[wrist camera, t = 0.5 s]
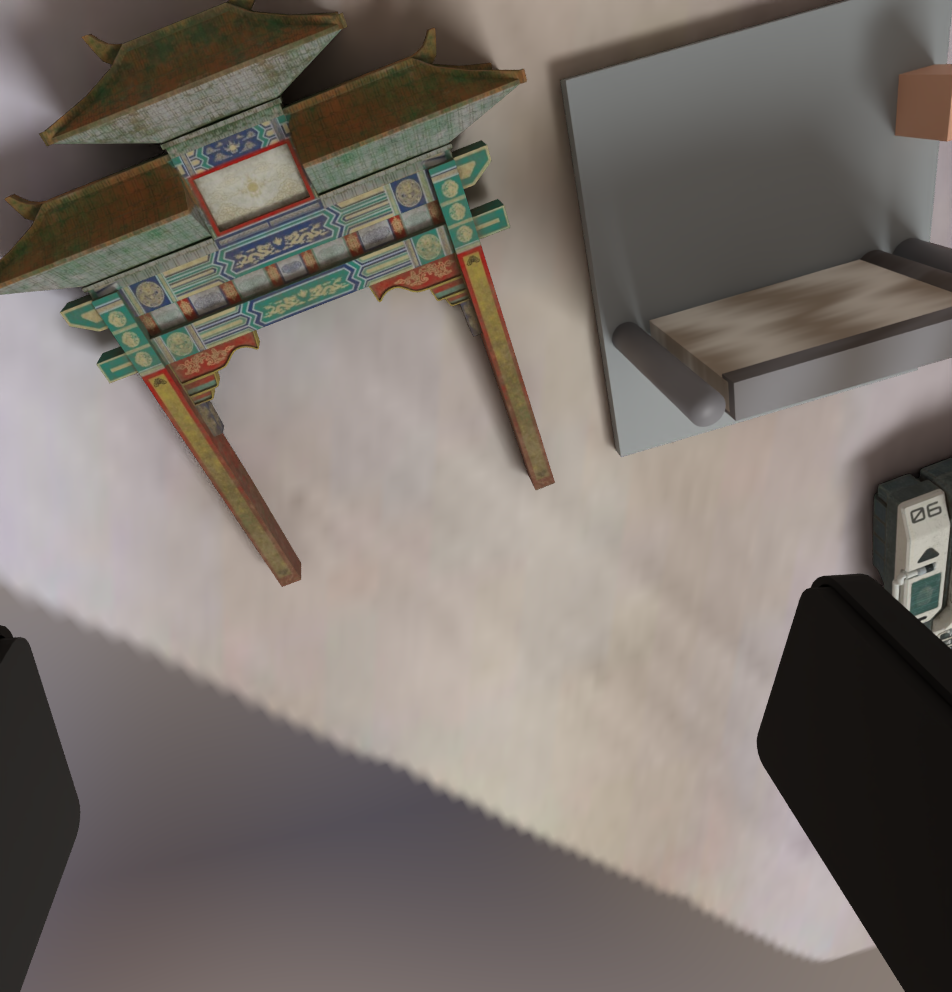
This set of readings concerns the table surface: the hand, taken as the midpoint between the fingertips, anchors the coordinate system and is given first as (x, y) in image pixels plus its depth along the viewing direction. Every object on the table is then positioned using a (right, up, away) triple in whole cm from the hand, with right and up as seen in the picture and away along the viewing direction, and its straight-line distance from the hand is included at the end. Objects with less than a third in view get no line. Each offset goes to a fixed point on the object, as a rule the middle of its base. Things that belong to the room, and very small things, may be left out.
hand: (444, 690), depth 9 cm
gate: (+18, +14, +34) cm, 41 cm away
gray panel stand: (+17, +17, +34) cm, 42 cm away
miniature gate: (-9, +13, +32) cm, 36 cm away
